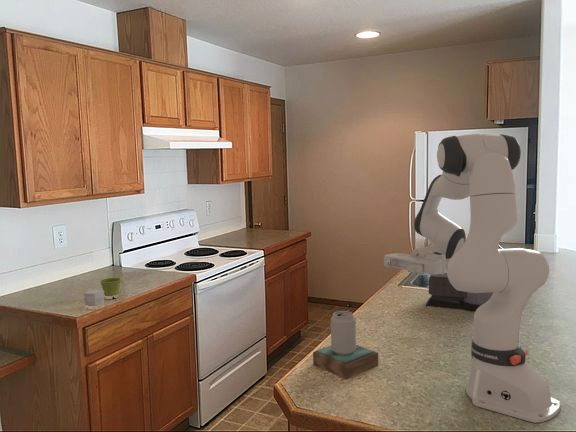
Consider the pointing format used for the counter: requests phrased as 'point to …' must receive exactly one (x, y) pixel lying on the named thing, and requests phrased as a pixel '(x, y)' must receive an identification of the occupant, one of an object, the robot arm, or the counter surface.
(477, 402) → the robot arm
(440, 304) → the juicer
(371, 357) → the plinth
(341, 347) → the can
